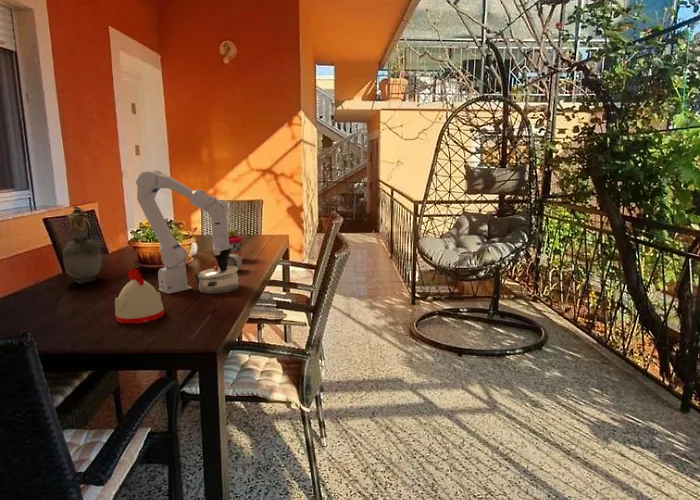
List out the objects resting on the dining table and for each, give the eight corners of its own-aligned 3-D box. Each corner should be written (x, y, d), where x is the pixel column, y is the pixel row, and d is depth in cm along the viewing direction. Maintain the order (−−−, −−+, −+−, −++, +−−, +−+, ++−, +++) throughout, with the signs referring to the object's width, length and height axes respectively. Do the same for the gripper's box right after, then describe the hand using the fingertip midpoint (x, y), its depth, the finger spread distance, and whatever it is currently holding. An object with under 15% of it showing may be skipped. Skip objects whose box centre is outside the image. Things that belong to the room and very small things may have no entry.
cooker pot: (189, 296, 170) (188, 282, 169) (205, 281, 190) (204, 269, 189) (231, 295, 170) (230, 282, 169) (243, 280, 190) (242, 268, 189)
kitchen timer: (150, 306, 160) (145, 262, 157) (172, 314, 152) (168, 268, 149) (107, 317, 150) (101, 270, 147) (129, 327, 141) (123, 277, 138)
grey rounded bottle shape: (63, 286, 186) (52, 209, 180) (81, 274, 205) (71, 204, 199) (93, 285, 188) (83, 208, 182) (108, 273, 206) (100, 203, 200)
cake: (215, 262, 223) (213, 230, 220) (227, 257, 233) (225, 227, 230) (235, 263, 220) (233, 231, 217) (247, 258, 230) (245, 227, 227)
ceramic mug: (243, 269, 209) (242, 251, 207) (238, 274, 201) (236, 255, 199) (219, 269, 210) (218, 252, 208) (213, 274, 202) (211, 256, 200)
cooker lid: (191, 280, 172) (189, 275, 171) (202, 270, 186) (201, 265, 186) (232, 275, 172) (232, 270, 171) (241, 266, 186) (240, 261, 185)
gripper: (226, 237, 169) (229, 274, 171) (235, 230, 183) (238, 265, 186) (206, 237, 169) (209, 275, 171) (217, 231, 183) (220, 266, 186)
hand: (223, 270), depth 179 cm, fingers closed, pressing on cooker lid
